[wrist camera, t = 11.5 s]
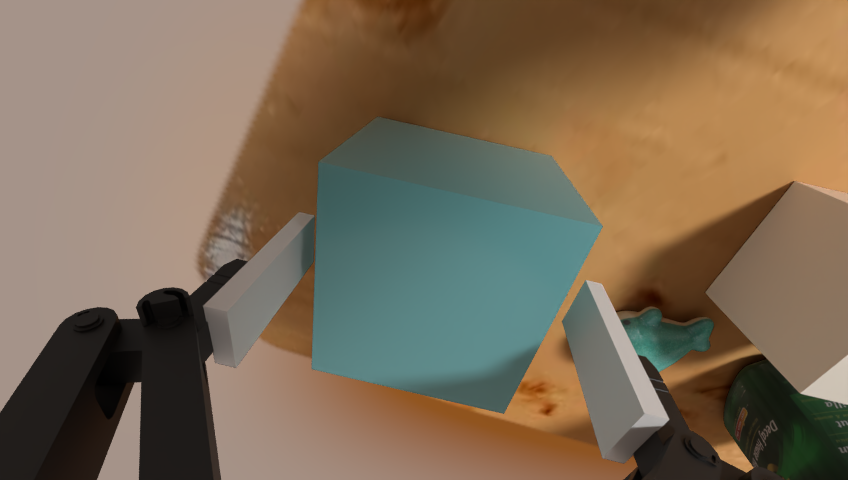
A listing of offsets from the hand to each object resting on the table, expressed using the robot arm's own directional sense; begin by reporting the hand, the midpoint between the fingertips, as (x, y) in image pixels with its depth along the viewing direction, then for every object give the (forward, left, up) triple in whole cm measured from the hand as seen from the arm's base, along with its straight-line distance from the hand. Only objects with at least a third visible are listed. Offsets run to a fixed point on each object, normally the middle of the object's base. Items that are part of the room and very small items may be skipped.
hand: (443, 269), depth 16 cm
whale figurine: (+5, +16, -7) cm, 18 cm away
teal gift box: (0, 0, -6) cm, 6 cm away
